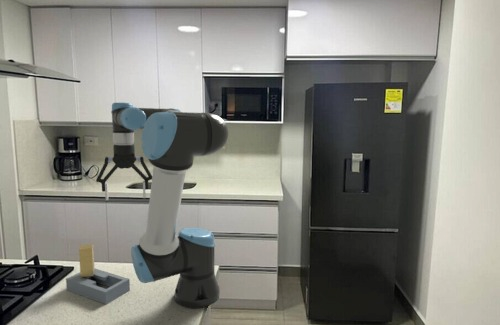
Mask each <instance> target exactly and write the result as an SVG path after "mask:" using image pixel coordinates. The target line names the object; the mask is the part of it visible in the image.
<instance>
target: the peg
mask: <svg viewBox="0 0 500 325" xmlns="http://www.w3.org/2000/svg"><path fill="white" fill-rule="evenodd" d="M78 255H79V271H80V272H79V273H80V274H81V277H85V278H86V279H89V280H92V281H95V282H96V280H93V279H91V276H93V275H94V271H95V269H96V267H95V252H94V243H88V244H81V245H80V246H79V249H78ZM96 283H97V282H96Z"/></svg>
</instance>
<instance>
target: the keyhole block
mask: <svg viewBox="0 0 500 325" xmlns="http://www.w3.org/2000/svg"><path fill="white" fill-rule="evenodd" d="M91 279H93V280H96V282H95V281H92V280H89V279H86V278H85V277H81V274H80V272H78V273H75V274H73V275H71V276H68V277H67V278H65V286H66V291H68V292H71V293H74V294H77V295H80V296H82V297H85V298H87V299H90V300H93V301H96V302H99V303H101V304H104V305H109V303H111V302H113V301H115V300H116V299H118V298H119V297H121V296H123V295H124V294H126V293H128V292H129V291H130V290H131V287H130V286H131V283H130V282H131V281H130V278H128V277H123V276H121V275H118V274H114V273H111V272H108V271H104V270H101V269H99V268H95V271H94V275H93V276H91ZM97 284H100V285H103V286H107V287H108V288H104V287H101V286H98V285H97Z"/></svg>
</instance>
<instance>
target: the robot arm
mask: <svg viewBox="0 0 500 325" xmlns="http://www.w3.org/2000/svg"><path fill="white" fill-rule="evenodd" d="M111 120H112V121H111V122H112V142H113V145H112V146H113V157H109V156H105V158H104V163H103V166H102V167H101V170H100V171H99V174H98V175H97V176H96V181H95V182H97V183H99V184H100V183H101V184H100V185H101V192H102V193H103V192H105V193H104V194H105V195H104V196H105V197H104V198H105V201H109V184H108V182H107V181H108V180H109V179H110V177H111V176H112V175H113V174H114V172H116V170H117V169H121V170H122V169H130V168H132V169H133V170H134V172H136V173H137V174H138V175H139V176H140V178H142V179H143V180H142V191H143V192H142V196H143V198H142V199H146V190H148V189H149V182H150V181H151V185H150V186H151V187H150V193H149V201H148V209H147V210H148V212H147V220H146V229H145V232H143V234H142V235H141V236H140V237H139V241H138V242H139V243H138V244H135V245H133V246H132V247H131V249H130V253H131V261H132V265H133V269H134V271H135V272H134V273H135V274H136V277H137V279H138V281H139V282H140V283H142V284H148V283H155V282H156V281H161V280H163V279H164V280H165V279H167V278H170V277H173V276H177V275H179V277H178V280H177V283H176V287H175V290H174V299H175V300H174V301H175V302H176V304H178V305H179V306H181V307H183V308H188V309H200V308H206V307H208V306H211V305H213V304H215V303H216V302H217V301H218V300H219V299H220V295H221V294H220V293H221V292H220V291H221V290H220V289H221V288H220V286H219V284H218V280H217V277H216V272H215V262H216V261H215V260H216V258H215V248H216V244H215V243H216V242H215V236H214V234H213V232H211V231H210V230H207V229H204V228H200V227H185V228H182V229H180V230H179V232H178V235H177V227H178V222H179V221H178V220H179V216H180V208H181V202H182V195H183V190H184V184H185V178H186V173H187V171H188V170H190V169H191V168H192V167H193V164H194V158H195V157H204V156H209V155H214V154H215V153H217V152H220V151H221V150H222V149H223V148H224V147H225V146H226V143H227V142H228V139H229V127H228V124H227V123H226V122H225V120H224V119H223V118H222V117H220V116H219V115H217V114H215V113H209V112H185V111H184V112H183V111H181V110H180V109H178V108H152V107H151V108H150V107H137V106H135V107H134V106H133V103H132V102H113V103H112V105H111ZM136 130H142V133H141V142H142V144H141V146H142V148H141V150H142V153H143V155H144V156H143V155H140V156H136V153H135V144H134V143H135V131H136ZM144 157H146V158H147V161H148V163H149V164H150V165H151V166H152V168H153V169H152V172H150V170H149V168H148V166H147V164H146V162H145V160H144ZM136 161H137V162H138V163H140V164H141V166H142V168H143V169H144V171H145V173H146V175H147V176H146V175H145V174H144V172H142V170H140V168H138V166H137V165H136V164H135V162H136ZM111 162H113V163H114V166H113V167H112V168H111V169H110V170H109V171H108V173H107V174H106V175H105V176H104V177H103V175H104V174H105V171H106V170H107V167H108V165H109V164H110V163H111ZM102 177H103V178H102Z"/></svg>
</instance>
